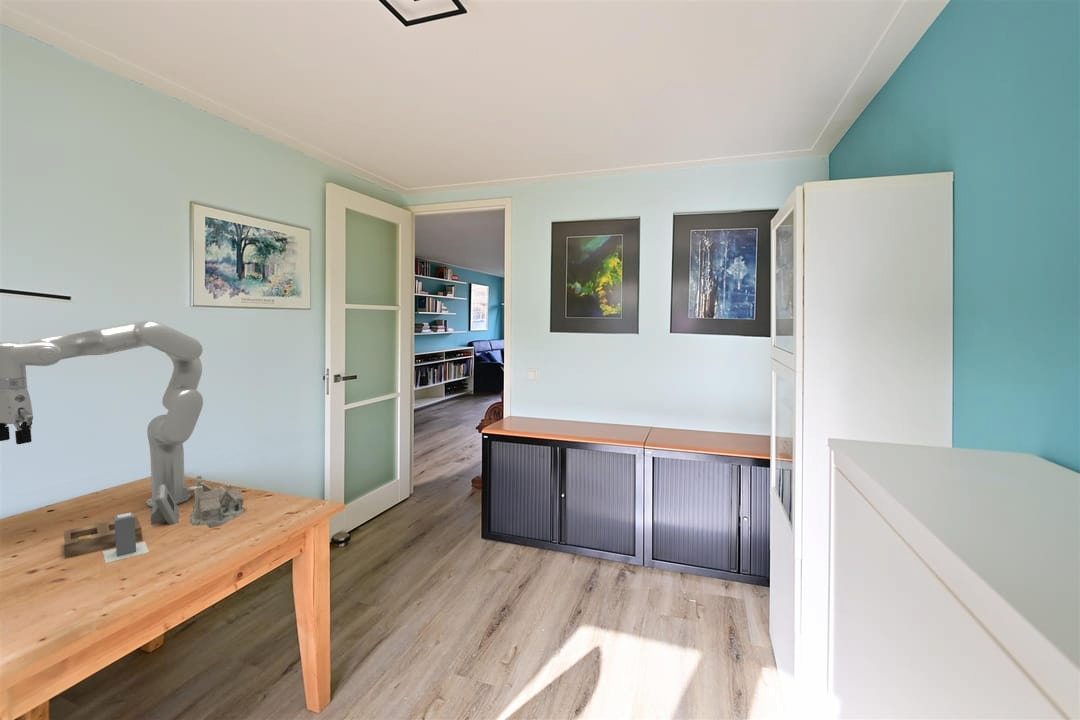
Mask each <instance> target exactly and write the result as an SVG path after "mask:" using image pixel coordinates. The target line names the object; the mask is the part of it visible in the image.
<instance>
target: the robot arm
mask: <svg viewBox="0 0 1080 720" xmlns="http://www.w3.org/2000/svg"><path fill="white" fill-rule="evenodd" d="M143 347H151V348H153V349H156V350H158V351H159V352H163V353H164V354H166V356H167V357H169V359H170V360H171V362H172V364H173V370H172V373H171V378H170V380H169V382H168V384H167V387H166V389H165V391H164V393H163V396H162V399H161V400H162V401H161V402H162V406H163V407H164V408H165V409H166V410H167V413H166V414H160V415H157V416H155V417H153V419H151V420H150V422H149V423H148V425H147V429H146V430H147V431H146V432H147V439H148V440H147V441H148V445H149V452H150V454H149V455H150V457H149V458H150V473H151V474H150V477H151V498H148V499H147V500H146V506H148V507H150V508H152V507H153V505H155V504H156V502H155V496H156V489H157V487H158V486H159V485H166V487H167V488H168V490H169V492H170V494H171V496H172V497H173V499H174V501H175V503H176V505H178V504H181V503H185V502H187V501H189V500H190V499H191V493H194V490H195V489H196V488H197V487H198V485H197V486H196V485H192V486H187V485H186V483H185V482H186V481H185V480H186V479H185V452H184V443H185V442H187V441H188V440H189V439H190V438H191V436H192V434H193V432H194V429H195V428H196V425H197V422H198V420H199V417H200V415H201V411H202V410H203V405H204V399H203V395H202V394H201V392H200V391H199V390H197V389H198V386H199V384H200V380H201V377H202V372H203V364H202V361H201V359H200V357H201V355H202V354H203V346H202V343H201V342H200V341H199V340H197V339H196V338H194V337H192V336H189V335H188V334H186V333H184V332H183V333H182V332H181V331H179V330H177V329H175V328H173V327H170V326H168V325H166V324H164V323H161V322H158V321H153V320H151V321H149V320H142V321H135V322H130V323H126V324H120V325H112V326H109V327H101V328H97V329H92V330H91V329H90V330H85V331H81V332H77V333H69V334H65V335H59V336H54V337H48V338H40V339H36V340H35V339H34V340H32V341H29V342H26V343H25V342H24V343H20V342H15V341H14V342H12V341H11V342H10V341H9V342H5V341H4V342H0V442H5V441H9V440H10V439H11V438H10V427H9V426H8V425H14V427H15V429H16V430H15V431H14V432H15V433H14V435H15V444H16V445H22V444H29V443H32V441H33V440H32V428H33V427H32V425H33V419H34V414H33V408H32V401H31V396H30V394H29V390H28V383H27V379H28V378H27V368H26V367H27V366H33V367H34V366H36V367H48V366H53V365H55V364H58V363H59V362H60V361H61V360H62V361H63V360H66V359H71V358H77V357H86V356H104V355H110V354H114V353H119V352H123V351H124V352H125V351H128V350H129V351H130V350H133V349H137V348H143Z"/></svg>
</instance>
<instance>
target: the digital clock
mask: <svg viewBox="0 0 1080 720" xmlns="http://www.w3.org/2000/svg"><path fill="white" fill-rule="evenodd" d="M155 502H156V504H155V505H153V507H151V514H150V525H157V524H162V523H167V525H171V526H172V525H176V524H178V523H179V520H180V519H179V518H180V508H179V506H178V504H176V503H175V501H174V499H173V497H172V496H171V494H170V492H169V490H168V488H167V487H166V485H159V486H158V487H157V489H156V496H155Z"/></svg>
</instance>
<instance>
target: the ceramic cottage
mask: <svg viewBox="0 0 1080 720" xmlns="http://www.w3.org/2000/svg"><path fill="white" fill-rule="evenodd" d="M196 479H197V480H196V484H197V486H198V487H197V486H196V487H197V488H196V489H195V490H194V492H193V493H194V505H193V507H192V508H193V510H192V513H191V514H190V515H189V523H190V524H191V525H192V526H206V525H207V527H208V528H209V529H210V528H215V527H217V526H222V525H224V524H225V523H227V522H229V521H231V520H234V519H235V518H237V517H239V516H241V515H243V514H244V513H245V509H244V507H243V505H244V498H243V493H242V490H241V488H237V489H234V490H232V487H231V486H232V485H231V484H230V483H228V484H226V485H225V488H224V487H223V486H220V487H216V488H215V487H214V488H212V486H209V485H208V484H206V483H205V482H204V481H203V477H202V475H197V476H196ZM242 513H243V514H242Z"/></svg>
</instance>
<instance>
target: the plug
mask: <svg viewBox="0 0 1080 720" xmlns="http://www.w3.org/2000/svg"><path fill="white" fill-rule="evenodd" d="M135 516H136V515H135V514H134V512H126V513H121V514H117V515H115V516H113V518H114V519H113V521H114V523H115V544H116V547H115V548H116V554H117V556H121V555H125V554H129V553H133V552H136V543H137V542H136V536H135Z"/></svg>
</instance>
